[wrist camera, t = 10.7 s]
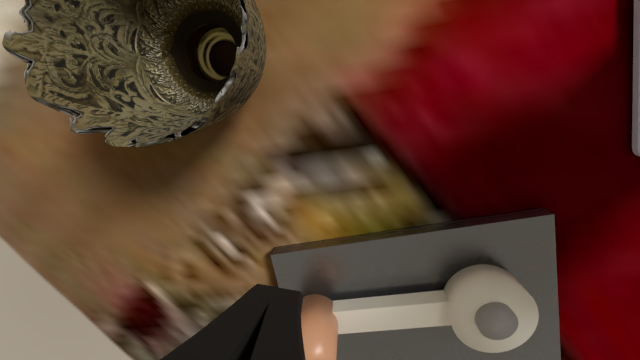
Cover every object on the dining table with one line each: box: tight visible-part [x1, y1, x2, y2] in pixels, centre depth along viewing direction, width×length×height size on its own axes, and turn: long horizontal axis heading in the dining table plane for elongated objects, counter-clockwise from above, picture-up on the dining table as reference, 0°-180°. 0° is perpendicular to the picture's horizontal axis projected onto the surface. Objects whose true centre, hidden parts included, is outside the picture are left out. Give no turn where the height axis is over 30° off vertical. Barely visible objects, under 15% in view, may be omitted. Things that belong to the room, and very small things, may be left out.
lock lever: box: [301, 264, 539, 360], centre depth 15 cm, size 4×12×4 cm, turn 100°
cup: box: [2, 0, 266, 148], centre depth 12 cm, size 8×7×8 cm
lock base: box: [270, 208, 561, 360], centre depth 18 cm, size 16×16×1 cm
